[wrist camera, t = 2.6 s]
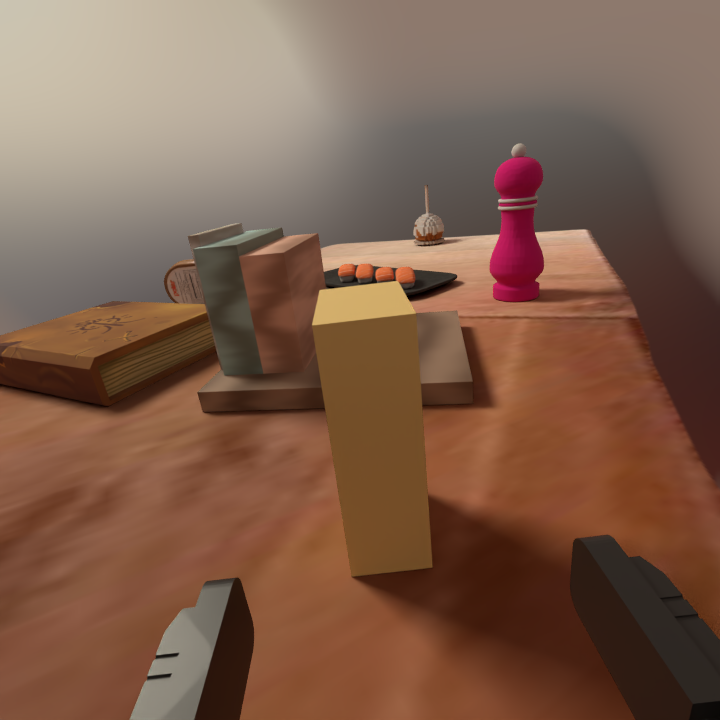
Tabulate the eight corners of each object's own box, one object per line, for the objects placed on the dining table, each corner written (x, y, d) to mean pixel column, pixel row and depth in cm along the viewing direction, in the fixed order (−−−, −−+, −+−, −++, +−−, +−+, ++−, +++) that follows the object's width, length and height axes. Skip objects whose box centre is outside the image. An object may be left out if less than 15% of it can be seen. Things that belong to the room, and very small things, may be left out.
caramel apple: (426, 241, 125) (423, 184, 119) (449, 241, 120) (447, 182, 114) (409, 246, 120) (405, 187, 114) (432, 247, 115) (429, 185, 109)
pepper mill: (502, 305, 60) (504, 144, 53) (481, 294, 67) (480, 149, 59) (552, 298, 61) (561, 137, 53) (526, 287, 68) (531, 143, 60)
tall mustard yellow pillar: (351, 576, 22) (311, 325, 17) (349, 496, 27) (319, 290, 22) (432, 567, 22) (416, 313, 17) (414, 488, 27) (398, 280, 22)
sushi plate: (465, 285, 75) (464, 262, 74) (328, 337, 58) (324, 309, 56) (353, 273, 96) (351, 255, 95) (227, 309, 78) (222, 287, 77)
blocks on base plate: (202, 411, 40) (156, 244, 35) (272, 337, 58) (249, 219, 53) (473, 403, 36) (470, 212, 31) (457, 326, 54) (453, 197, 49)
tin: (255, 299, 81) (246, 252, 78) (251, 303, 78) (241, 255, 75) (176, 307, 82) (163, 262, 79) (169, 312, 79) (155, 265, 76)
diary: (-10, 388, 54) (-31, 344, 52) (124, 336, 69) (112, 301, 67) (105, 412, 44) (85, 358, 41) (234, 345, 59) (224, 303, 56)
